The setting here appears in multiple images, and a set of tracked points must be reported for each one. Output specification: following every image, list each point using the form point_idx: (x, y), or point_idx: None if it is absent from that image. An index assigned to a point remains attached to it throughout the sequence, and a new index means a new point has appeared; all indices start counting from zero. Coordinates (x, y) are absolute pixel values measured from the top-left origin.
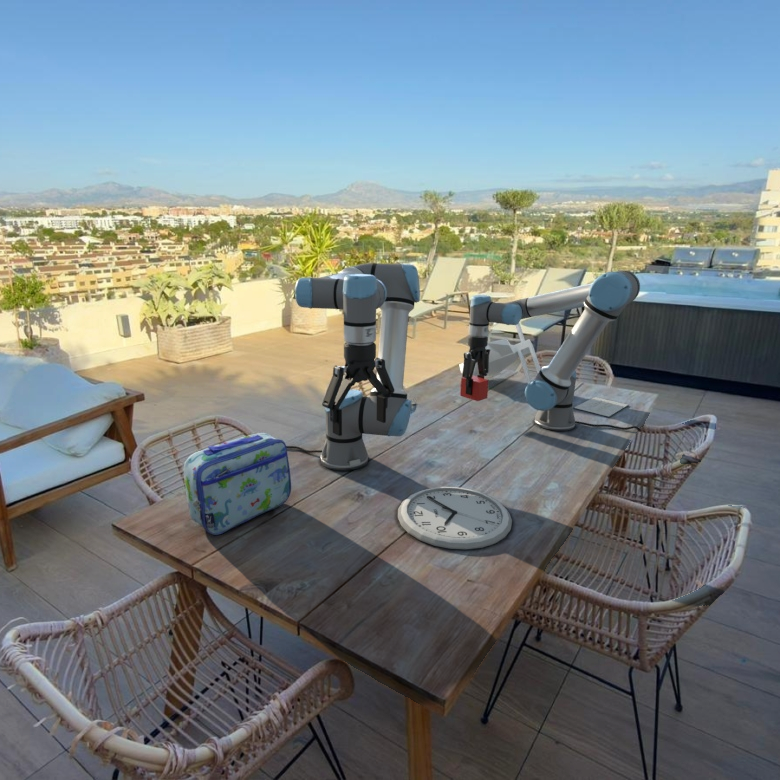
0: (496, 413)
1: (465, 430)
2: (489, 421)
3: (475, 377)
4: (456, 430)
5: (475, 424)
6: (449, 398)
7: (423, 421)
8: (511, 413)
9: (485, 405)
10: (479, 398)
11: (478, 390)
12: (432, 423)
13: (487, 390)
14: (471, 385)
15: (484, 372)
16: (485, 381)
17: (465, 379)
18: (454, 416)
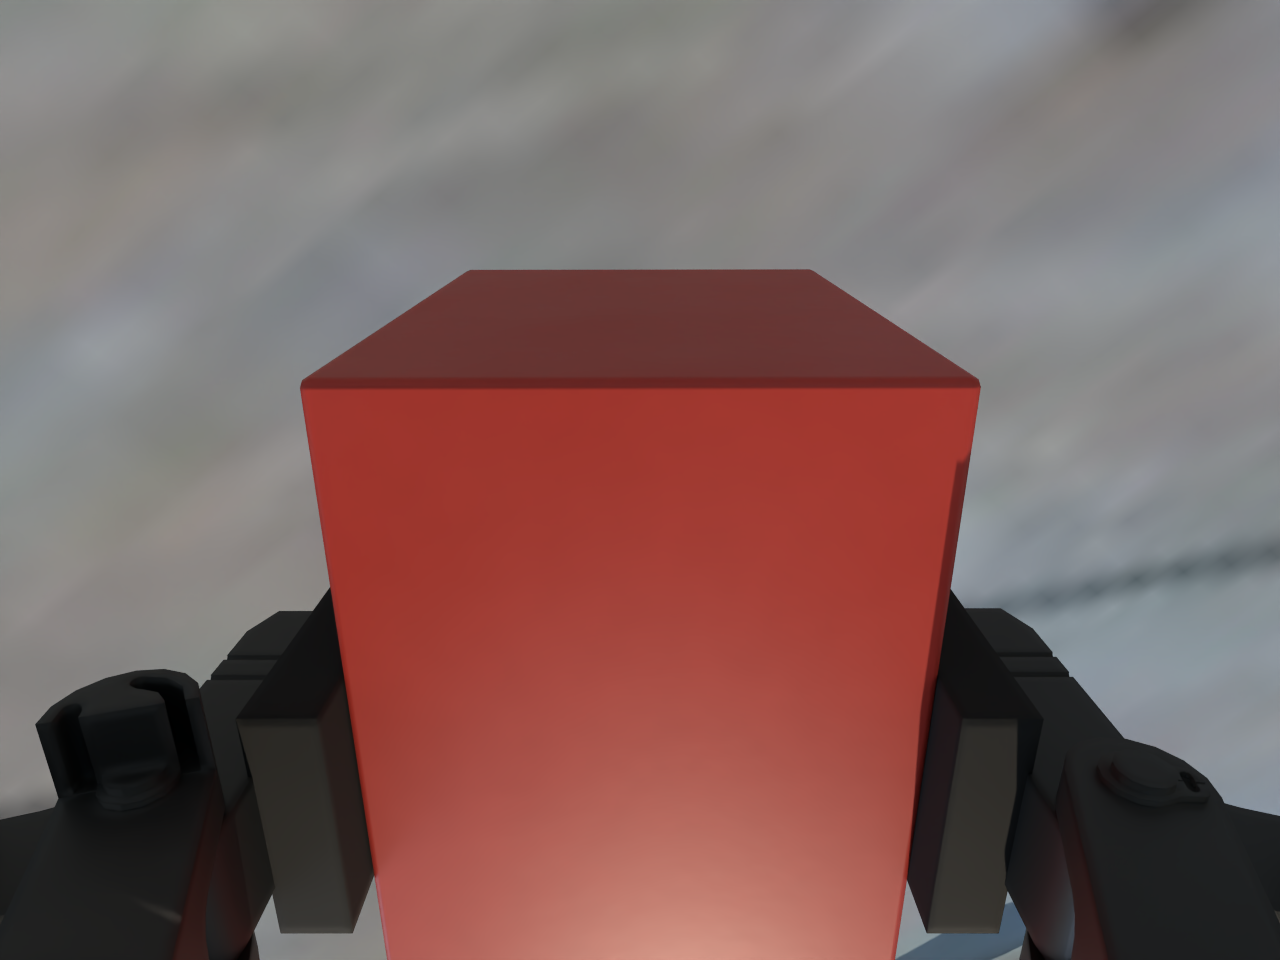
0: (237, 250)
1: (1189, 88)
2: (600, 90)
3: (506, 861)
4: (1269, 181)
5: (868, 154)
6: (358, 946)
7: (1228, 661)
8: (17, 85)
9: (139, 559)
10: (769, 278)
11: (886, 321)
12: (1224, 556)
13: (441, 301)
14: (952, 594)
15: (107, 852)
16: (540, 371)
17: (889, 929)
18: None
